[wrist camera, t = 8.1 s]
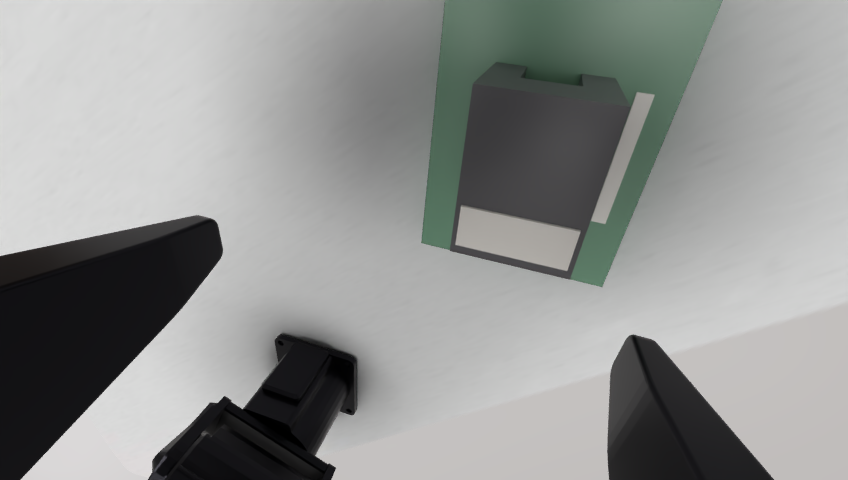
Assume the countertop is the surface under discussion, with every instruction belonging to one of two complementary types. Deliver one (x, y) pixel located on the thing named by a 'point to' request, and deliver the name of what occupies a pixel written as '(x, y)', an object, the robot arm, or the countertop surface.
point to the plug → (534, 167)
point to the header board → (564, 63)
